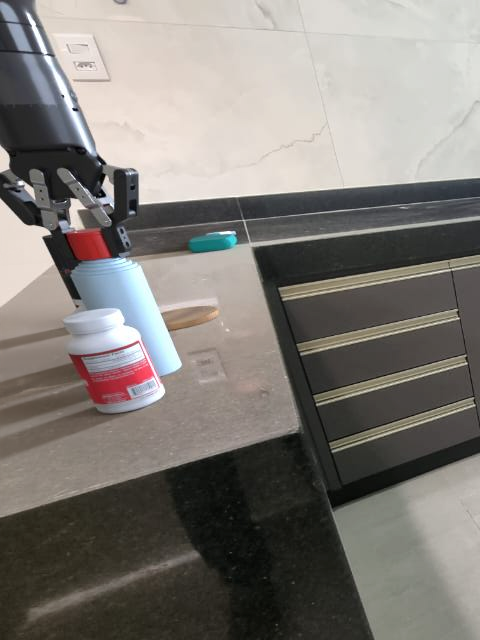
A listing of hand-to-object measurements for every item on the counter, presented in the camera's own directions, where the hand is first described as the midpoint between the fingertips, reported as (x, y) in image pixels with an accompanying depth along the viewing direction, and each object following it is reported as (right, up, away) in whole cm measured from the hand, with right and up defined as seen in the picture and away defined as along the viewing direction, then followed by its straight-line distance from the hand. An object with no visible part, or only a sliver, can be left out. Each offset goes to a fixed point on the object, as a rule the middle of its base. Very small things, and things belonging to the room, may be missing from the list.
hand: (100, 257), depth 65 cm
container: (-7, -12, +12) cm, 18 cm away
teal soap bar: (-59, +22, +91) cm, 111 cm away
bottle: (0, -14, +6) cm, 16 cm away
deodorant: (-26, -6, +27) cm, 38 cm away
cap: (0, 0, 0) cm, 0 cm away
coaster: (-12, -6, +26) cm, 29 cm away
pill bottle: (+6, -18, -2) cm, 19 cm away
